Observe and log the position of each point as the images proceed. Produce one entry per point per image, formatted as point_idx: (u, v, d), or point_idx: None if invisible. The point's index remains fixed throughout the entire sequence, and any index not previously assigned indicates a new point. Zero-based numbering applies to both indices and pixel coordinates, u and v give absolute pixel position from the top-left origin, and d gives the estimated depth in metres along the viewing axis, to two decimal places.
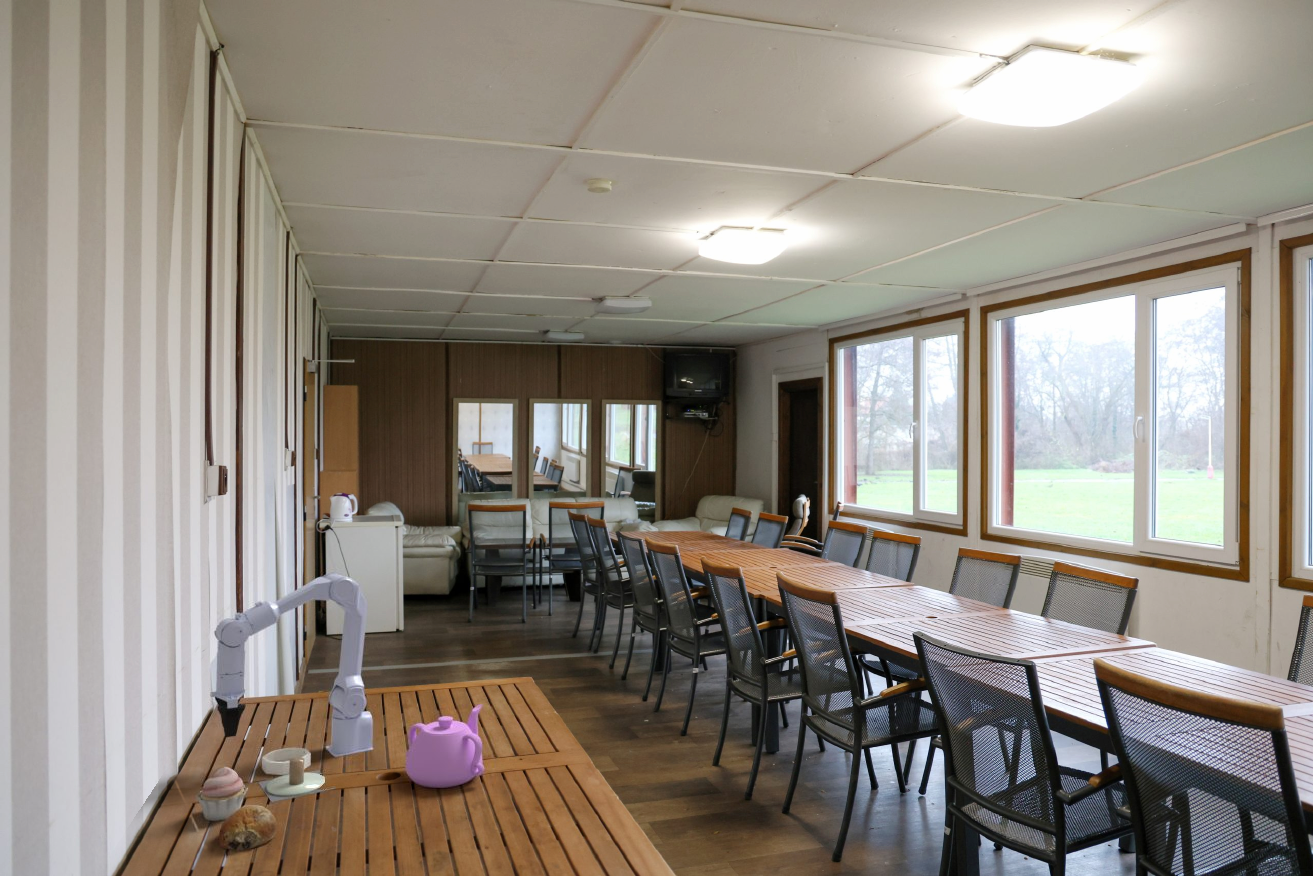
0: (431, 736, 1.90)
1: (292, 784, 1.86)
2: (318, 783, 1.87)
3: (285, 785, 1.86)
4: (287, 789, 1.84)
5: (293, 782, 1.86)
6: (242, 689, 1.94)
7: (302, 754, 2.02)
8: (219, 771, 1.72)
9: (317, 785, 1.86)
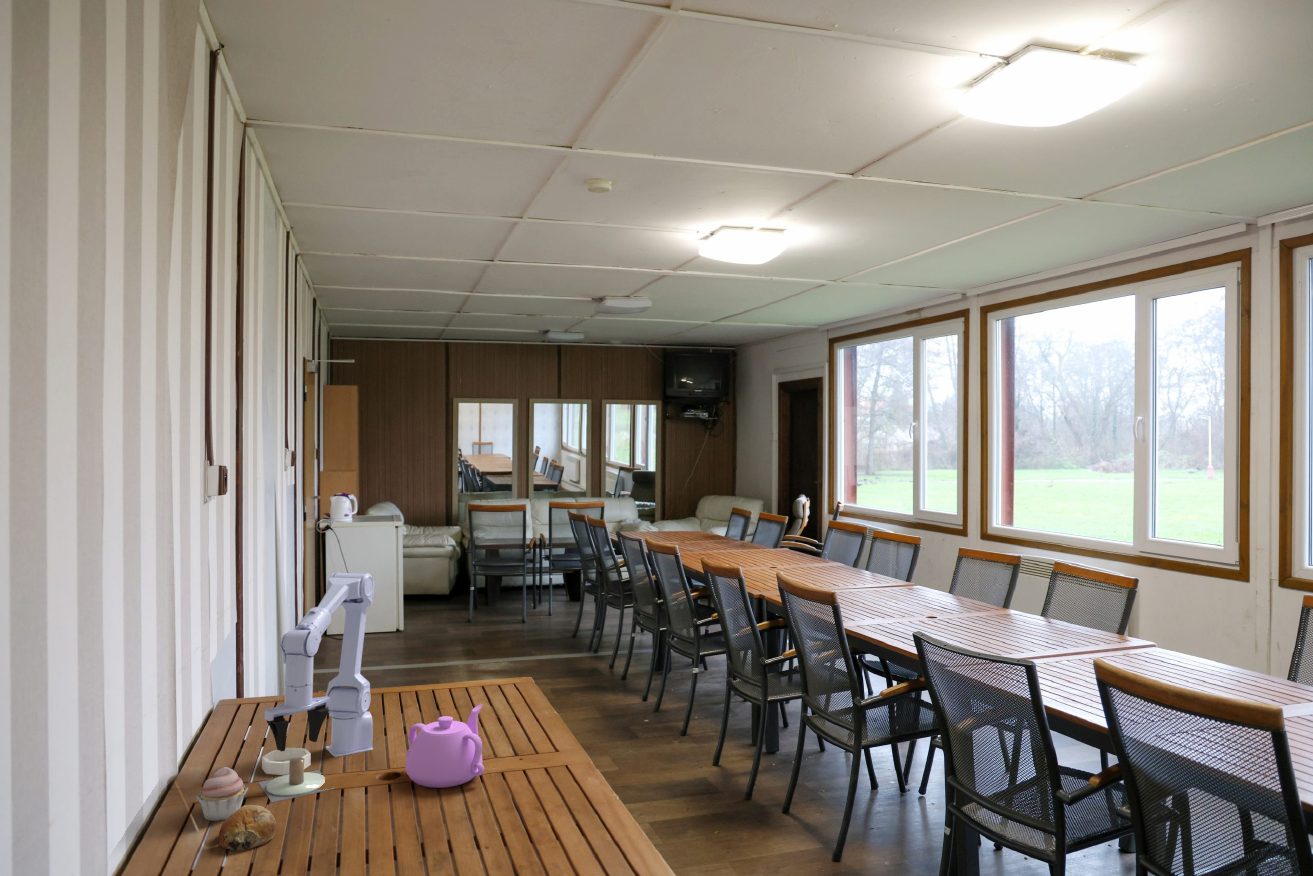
0: (431, 736, 1.90)
1: (292, 784, 1.86)
2: (318, 783, 1.87)
3: (285, 785, 1.86)
4: (287, 789, 1.84)
5: (293, 782, 1.86)
6: (298, 705, 1.85)
7: (302, 754, 2.02)
8: (219, 771, 1.72)
9: (317, 785, 1.86)
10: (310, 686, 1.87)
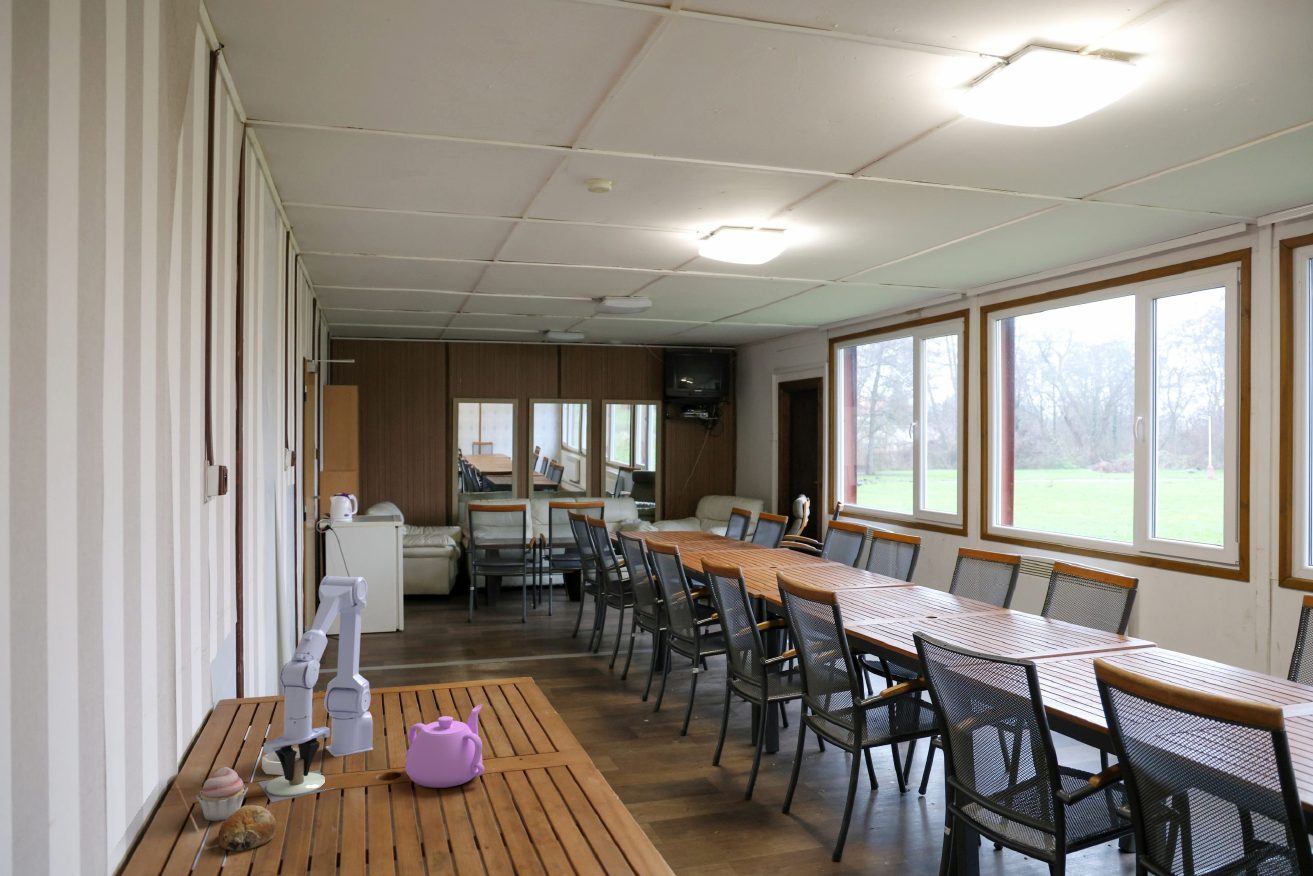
0: (431, 736, 1.90)
1: (292, 784, 1.86)
2: (318, 783, 1.87)
3: (285, 785, 1.86)
4: (287, 789, 1.84)
5: (293, 782, 1.86)
6: (297, 737, 1.85)
7: None
8: (219, 771, 1.72)
9: (317, 785, 1.86)
10: (309, 718, 1.87)
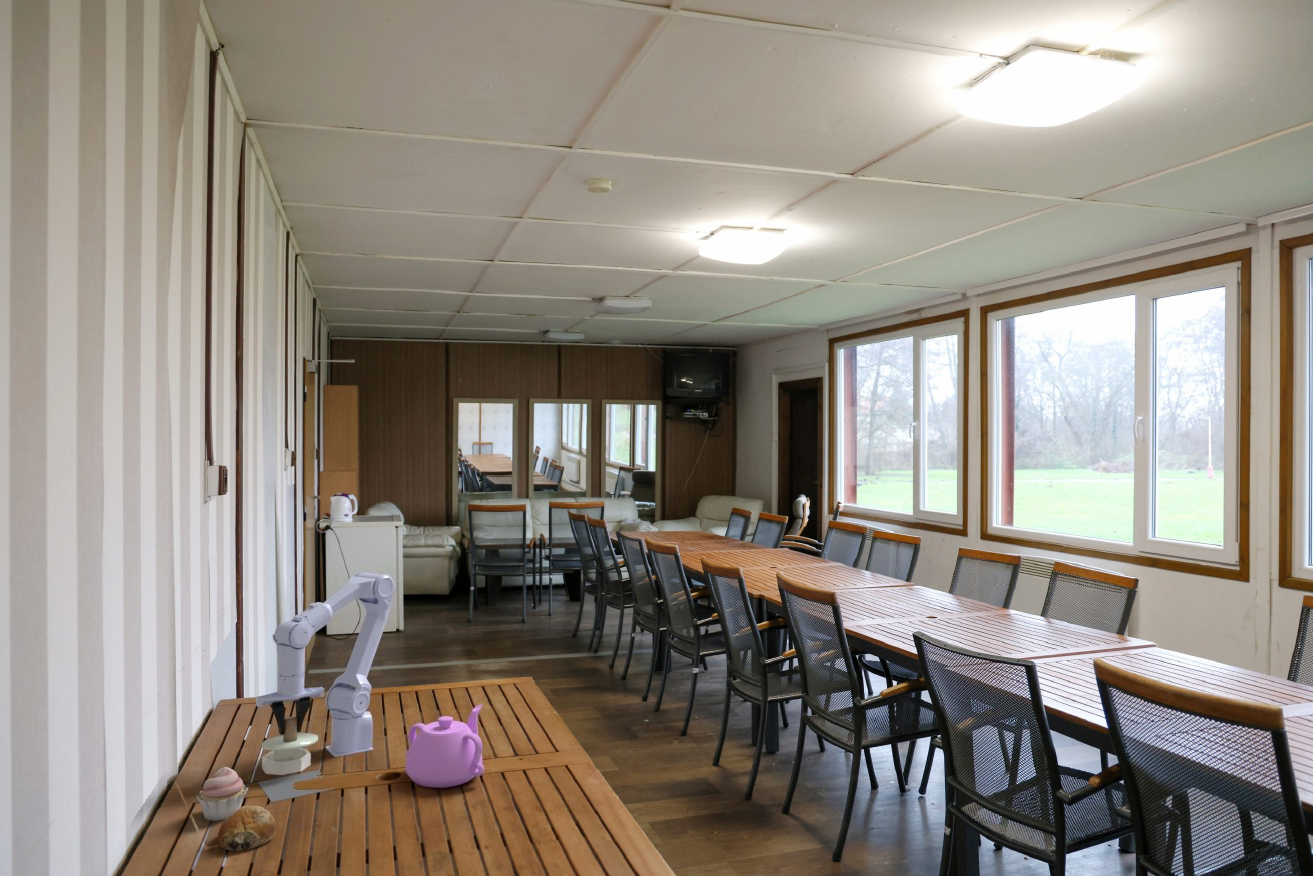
0: (431, 736, 1.90)
1: (285, 741, 1.95)
2: (308, 741, 1.94)
3: (279, 742, 1.95)
4: (277, 745, 1.92)
5: (285, 739, 1.95)
6: (286, 694, 1.94)
7: (302, 754, 2.02)
8: (219, 771, 1.72)
9: (305, 743, 1.93)
10: (299, 676, 1.95)
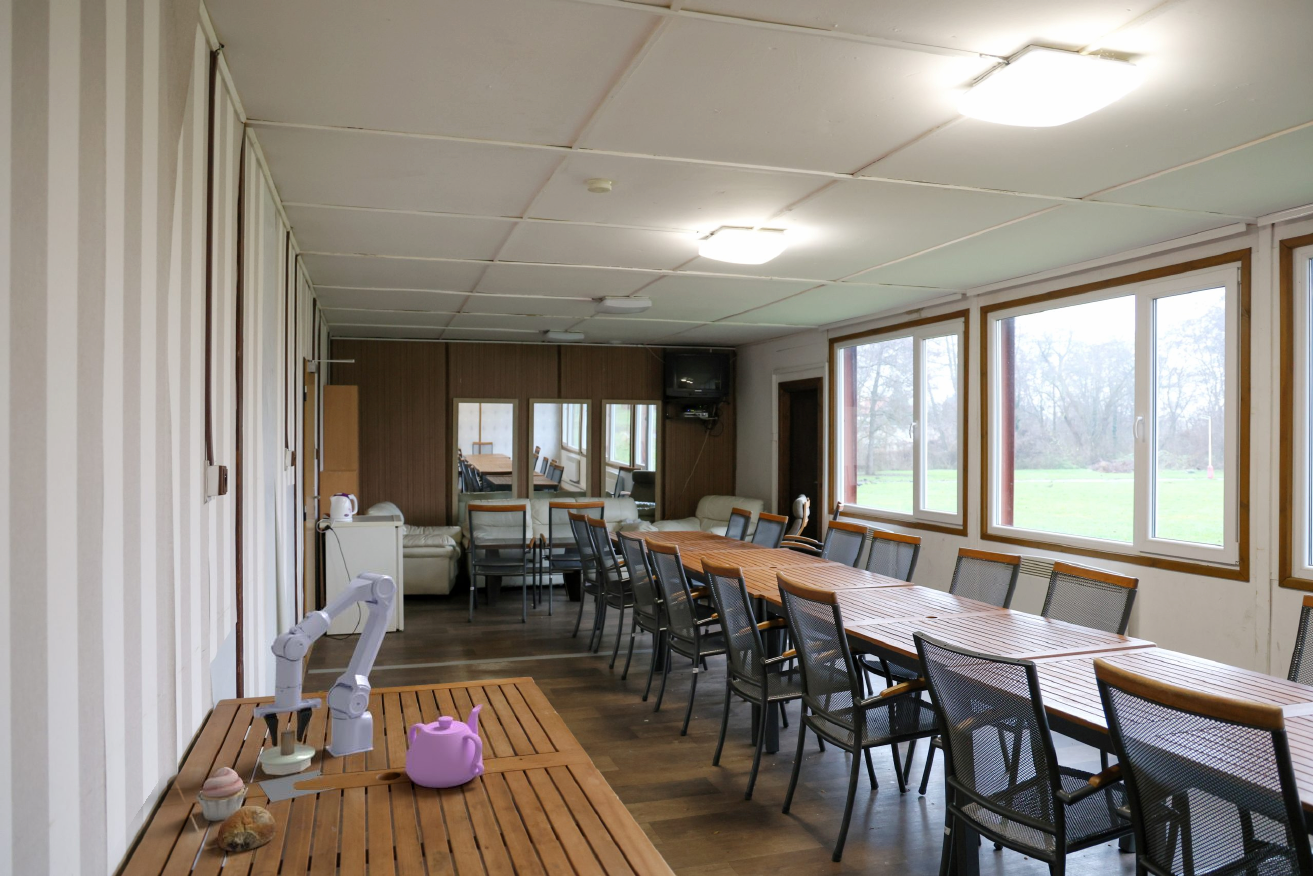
0: (431, 736, 1.90)
1: (282, 754, 1.97)
2: (304, 756, 1.96)
3: (276, 754, 1.97)
4: (274, 758, 1.95)
5: (282, 752, 1.97)
6: (283, 705, 1.96)
7: None
8: (219, 771, 1.72)
9: (302, 757, 1.95)
10: (296, 688, 1.98)
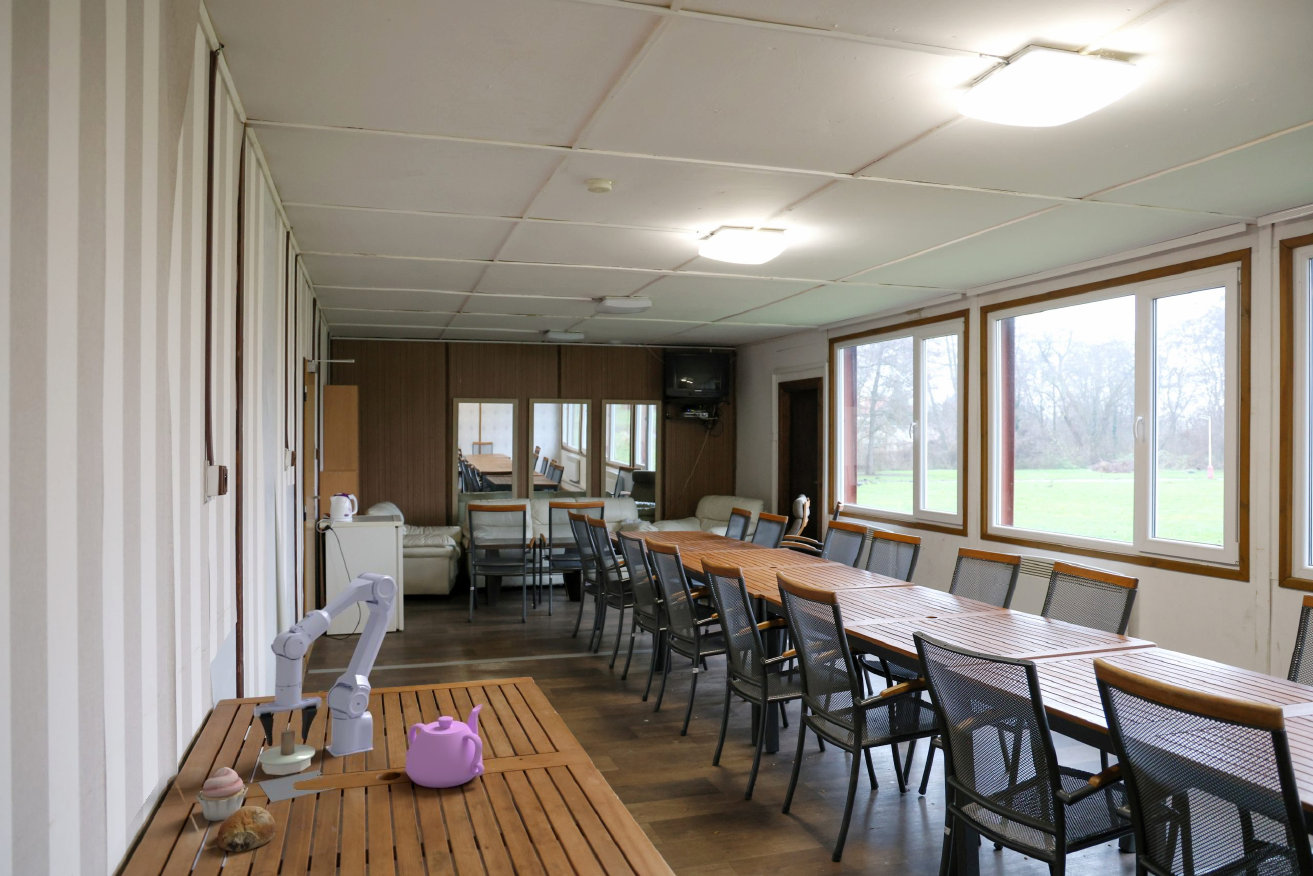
0: (431, 736, 1.90)
1: (282, 754, 1.97)
2: (304, 756, 1.96)
3: (276, 754, 1.97)
4: (274, 758, 1.95)
5: (282, 752, 1.97)
6: (284, 704, 1.96)
7: None
8: (219, 771, 1.72)
9: (302, 757, 1.95)
10: (296, 687, 1.98)
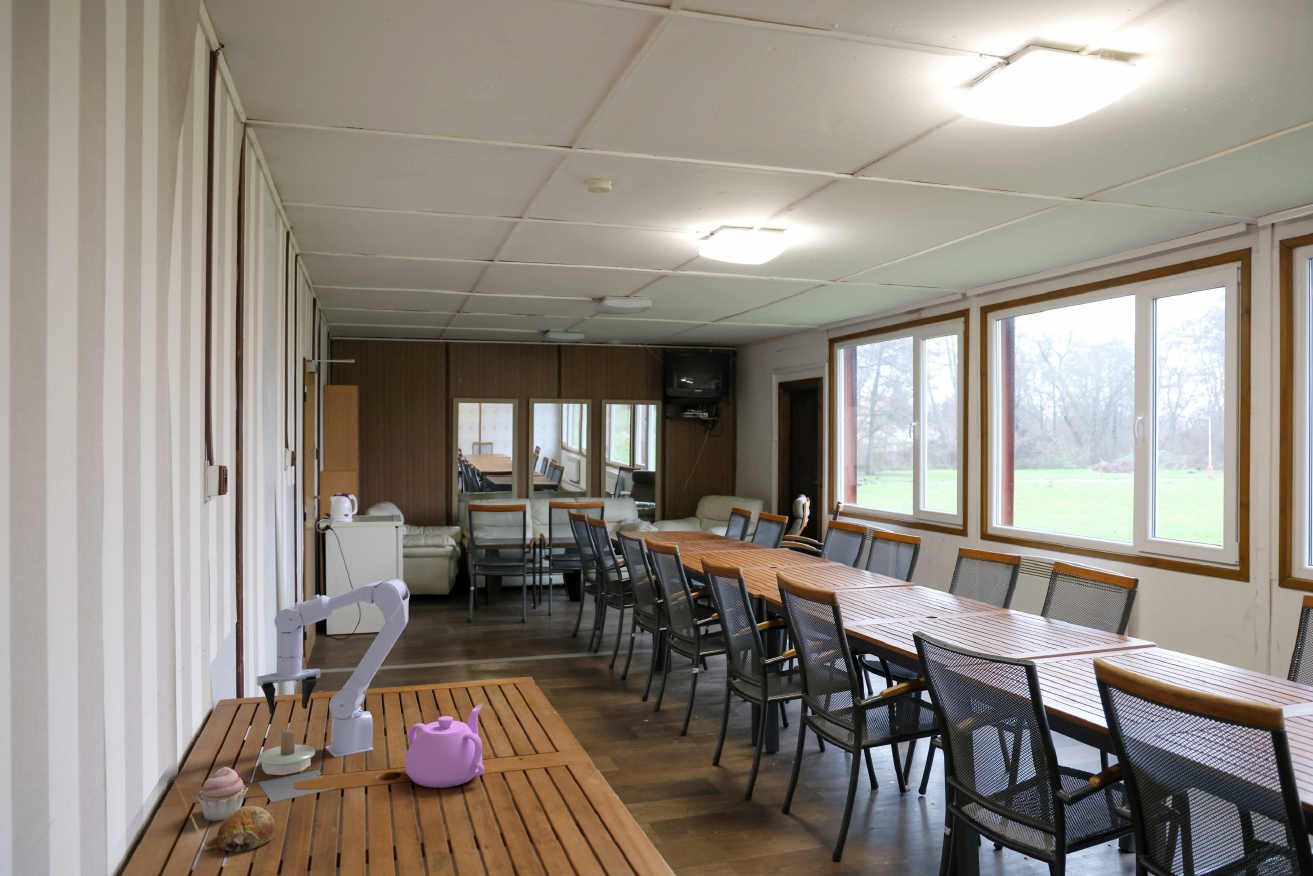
0: (431, 736, 1.90)
1: (282, 754, 1.97)
2: (304, 756, 1.96)
3: (276, 754, 1.97)
4: (274, 758, 1.95)
5: (282, 752, 1.97)
6: (285, 674, 2.07)
7: None
8: (219, 771, 1.72)
9: (302, 757, 1.95)
10: (297, 658, 2.09)
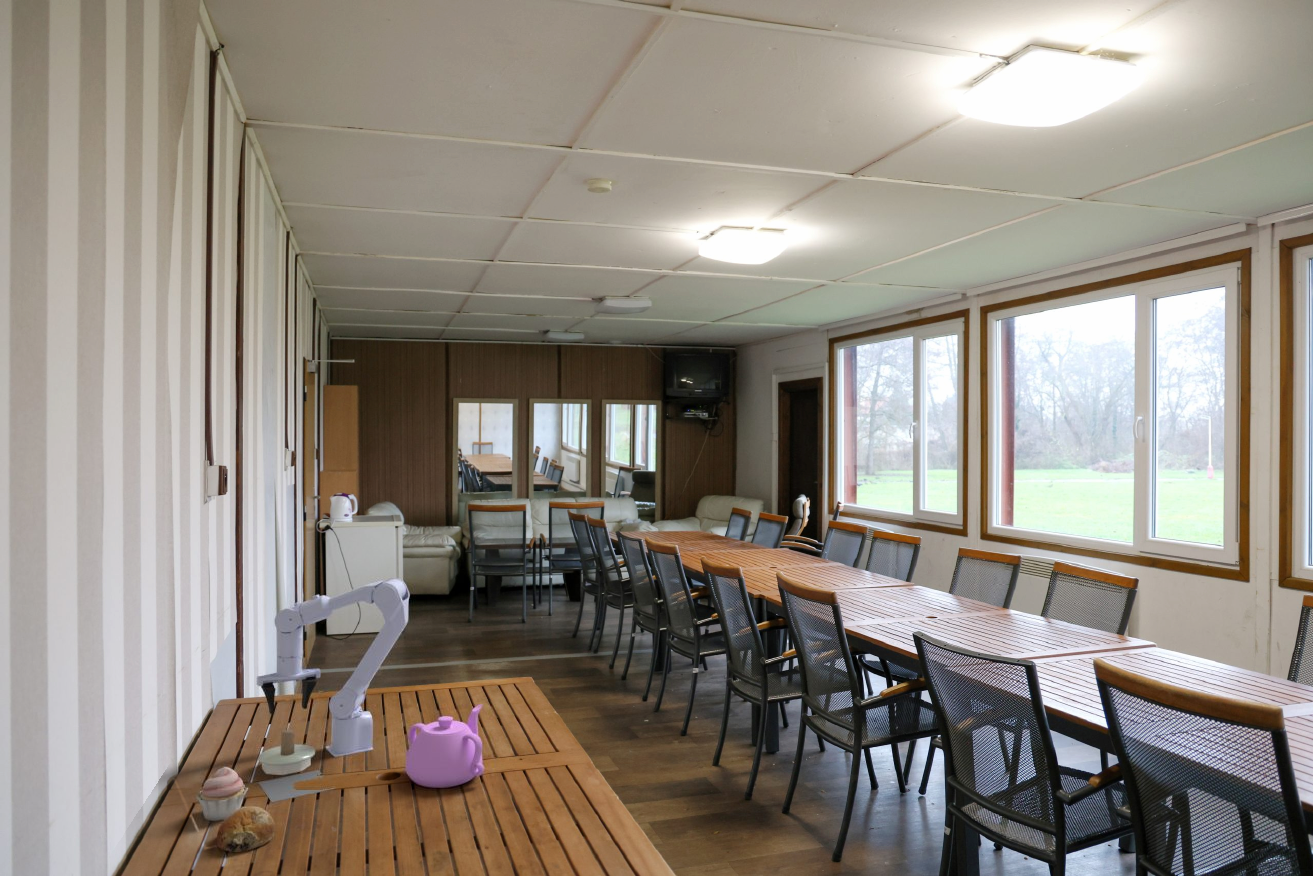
0: (431, 736, 1.90)
1: (282, 754, 1.97)
2: (304, 756, 1.96)
3: (276, 754, 1.97)
4: (274, 758, 1.95)
5: (282, 752, 1.97)
6: (285, 674, 2.07)
7: None
8: (219, 771, 1.72)
9: (302, 757, 1.95)
10: (297, 658, 2.09)
